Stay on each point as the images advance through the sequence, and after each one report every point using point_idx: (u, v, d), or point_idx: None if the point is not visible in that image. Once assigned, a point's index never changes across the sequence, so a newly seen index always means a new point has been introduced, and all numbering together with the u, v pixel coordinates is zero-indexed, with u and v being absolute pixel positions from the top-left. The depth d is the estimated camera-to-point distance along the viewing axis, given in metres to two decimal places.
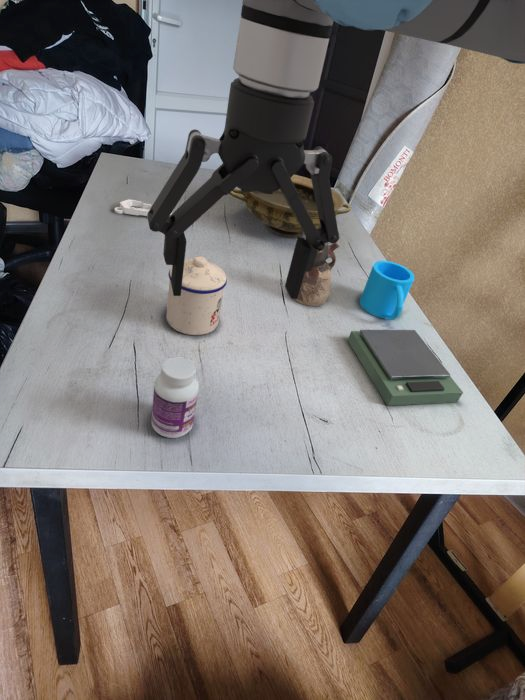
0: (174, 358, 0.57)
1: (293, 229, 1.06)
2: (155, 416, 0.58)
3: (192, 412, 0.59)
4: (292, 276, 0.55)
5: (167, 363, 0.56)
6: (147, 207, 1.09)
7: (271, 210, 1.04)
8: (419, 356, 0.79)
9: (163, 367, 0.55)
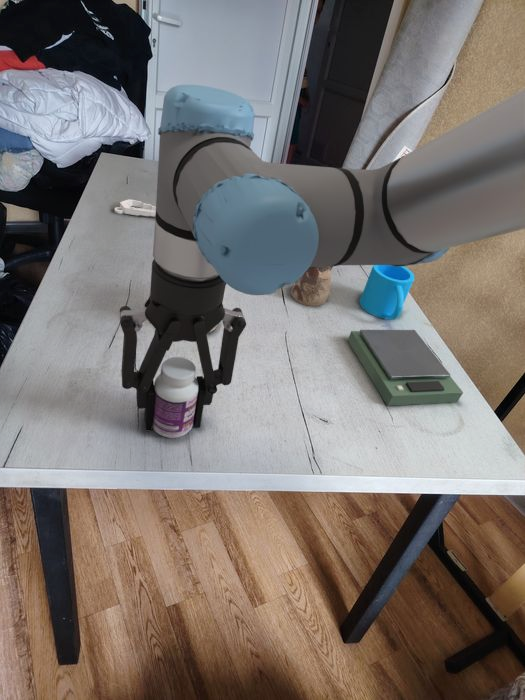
0: (174, 358, 0.57)
1: None
2: (155, 416, 0.58)
3: (192, 412, 0.59)
4: None
5: (166, 364, 0.56)
6: (147, 207, 1.09)
7: None
8: (419, 356, 0.79)
9: (163, 367, 0.55)
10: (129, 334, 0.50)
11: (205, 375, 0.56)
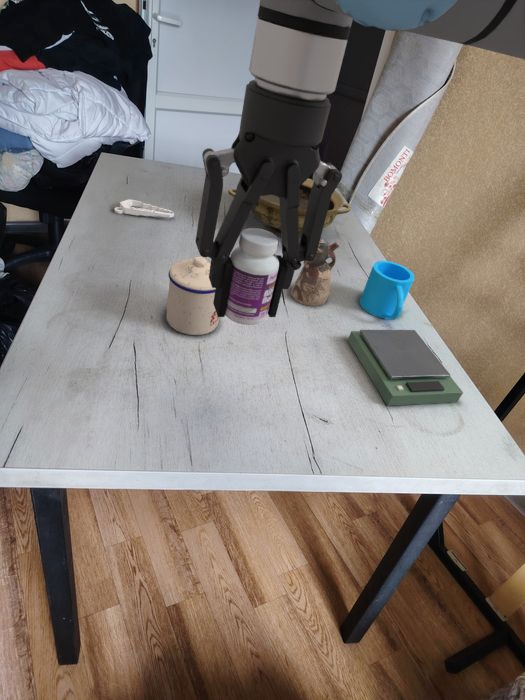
0: (252, 229, 0.50)
1: None
2: (229, 297, 0.52)
3: (271, 293, 0.52)
4: None
5: (246, 232, 0.49)
6: (147, 207, 1.09)
7: (271, 210, 1.04)
8: (419, 356, 0.79)
9: (243, 234, 0.49)
10: (215, 179, 0.43)
11: (289, 245, 0.50)
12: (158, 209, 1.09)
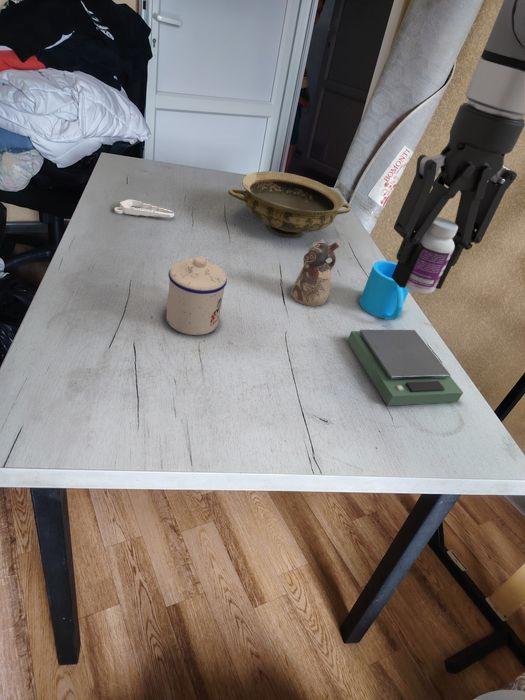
0: None
1: (293, 229, 1.06)
2: (413, 271, 0.65)
3: (444, 268, 0.66)
4: None
5: None
6: (147, 207, 1.09)
7: (271, 210, 1.04)
8: (419, 356, 0.79)
9: None
10: (429, 178, 0.57)
11: (466, 230, 0.63)
12: (158, 209, 1.09)
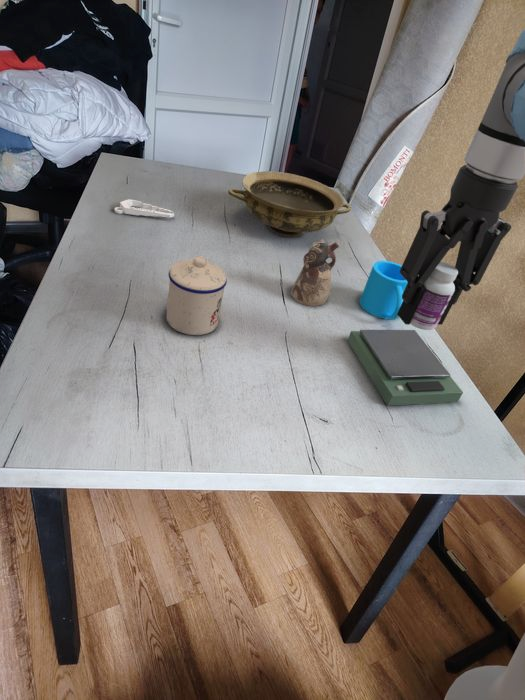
0: None
1: (293, 229, 1.06)
2: (417, 310, 0.72)
3: (445, 307, 0.72)
4: None
5: None
6: (147, 207, 1.09)
7: (271, 210, 1.04)
8: (419, 356, 0.79)
9: None
10: (432, 232, 0.63)
11: (465, 274, 0.70)
12: (158, 209, 1.09)
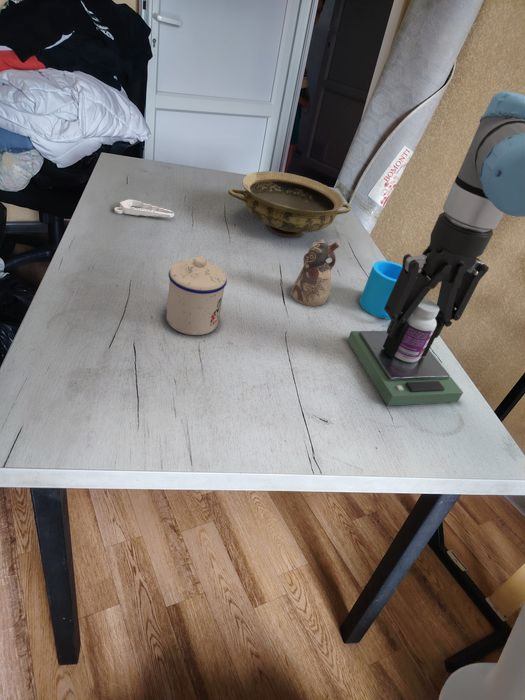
0: None
1: (293, 229, 1.06)
2: (401, 344, 0.76)
3: (428, 341, 0.76)
4: None
5: None
6: (147, 207, 1.09)
7: (271, 210, 1.04)
8: None
9: None
10: (413, 274, 0.67)
11: (446, 311, 0.74)
12: (158, 209, 1.09)
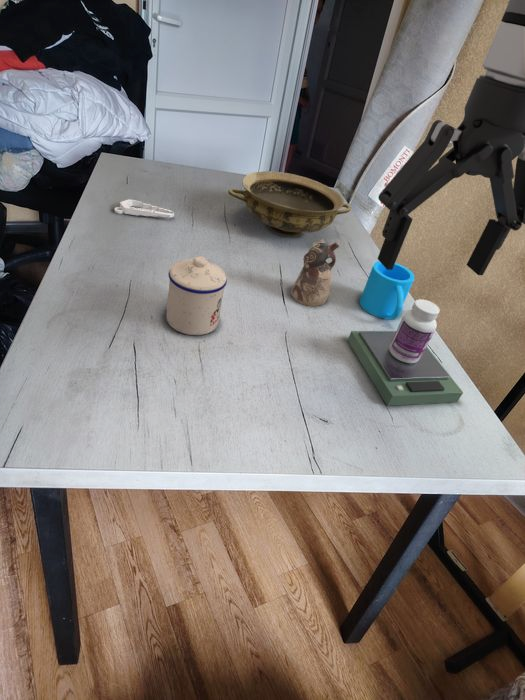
0: (420, 300, 0.75)
1: (293, 229, 1.06)
2: (400, 345, 0.76)
3: None
4: (480, 254, 0.61)
5: (418, 303, 0.74)
6: (147, 207, 1.09)
7: (271, 210, 1.04)
8: None
9: (417, 305, 0.73)
10: (441, 145, 0.49)
11: (508, 212, 0.57)
12: (158, 209, 1.09)
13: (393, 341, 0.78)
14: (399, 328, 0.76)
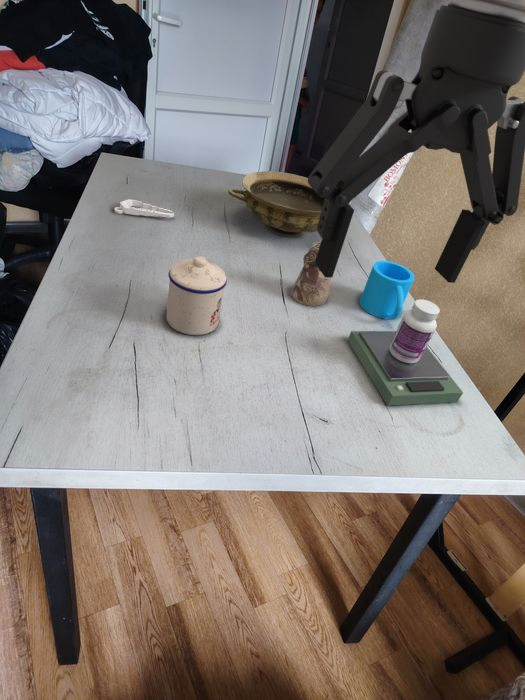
0: (420, 300, 0.75)
1: (293, 229, 1.06)
2: (400, 345, 0.76)
3: None
4: (451, 256, 0.47)
5: (418, 303, 0.74)
6: (147, 207, 1.09)
7: (271, 210, 1.04)
8: None
9: (417, 305, 0.73)
10: (386, 106, 0.35)
11: (485, 200, 0.43)
12: (158, 209, 1.09)
13: (393, 341, 0.78)
14: (399, 328, 0.76)
